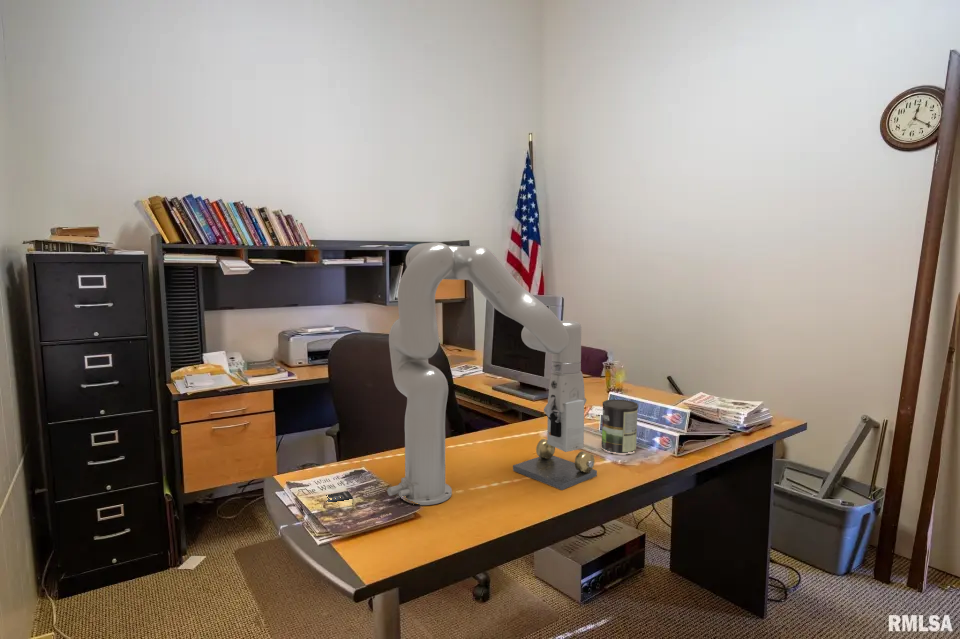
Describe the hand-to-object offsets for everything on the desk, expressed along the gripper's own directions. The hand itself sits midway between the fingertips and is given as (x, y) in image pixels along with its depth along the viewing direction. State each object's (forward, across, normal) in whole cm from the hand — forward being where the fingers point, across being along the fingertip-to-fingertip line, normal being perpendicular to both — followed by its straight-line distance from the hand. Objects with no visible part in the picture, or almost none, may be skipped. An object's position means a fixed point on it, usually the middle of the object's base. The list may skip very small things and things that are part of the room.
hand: (565, 432), depth 152 cm
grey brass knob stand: (+10, -4, 0) cm, 11 cm away
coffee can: (+11, +25, 0) cm, 27 cm away
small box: (+4, 0, 0) cm, 4 cm away
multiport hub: (+10, -59, +20) cm, 63 cm away
